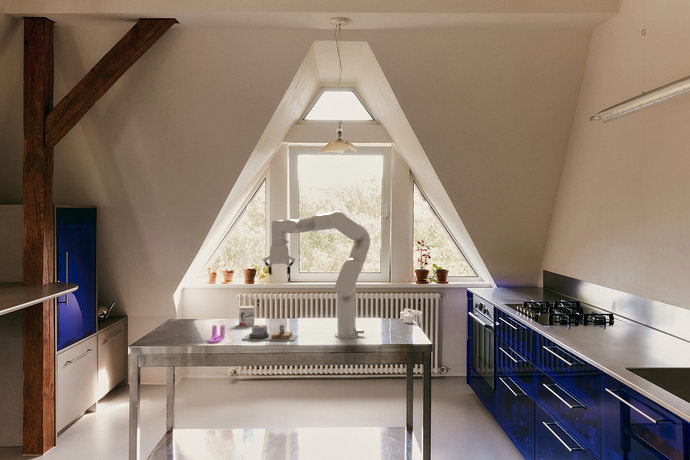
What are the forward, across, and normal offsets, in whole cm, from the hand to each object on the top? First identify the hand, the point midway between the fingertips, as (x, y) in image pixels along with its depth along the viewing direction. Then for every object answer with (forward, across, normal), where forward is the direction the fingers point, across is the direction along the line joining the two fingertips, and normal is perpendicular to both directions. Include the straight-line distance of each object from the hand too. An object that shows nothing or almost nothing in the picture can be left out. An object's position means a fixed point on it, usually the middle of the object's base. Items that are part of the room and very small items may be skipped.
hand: (279, 274), depth 254 cm
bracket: (+32, +31, +15) cm, 47 cm away
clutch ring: (+30, +10, +10) cm, 33 cm away
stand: (+32, -2, +11) cm, 34 cm away
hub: (+32, +10, +10) cm, 34 cm away
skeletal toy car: (+34, -75, -35) cm, 89 cm away
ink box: (+32, +23, -21) cm, 44 cm away
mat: (+32, +4, +10) cm, 34 cm away
